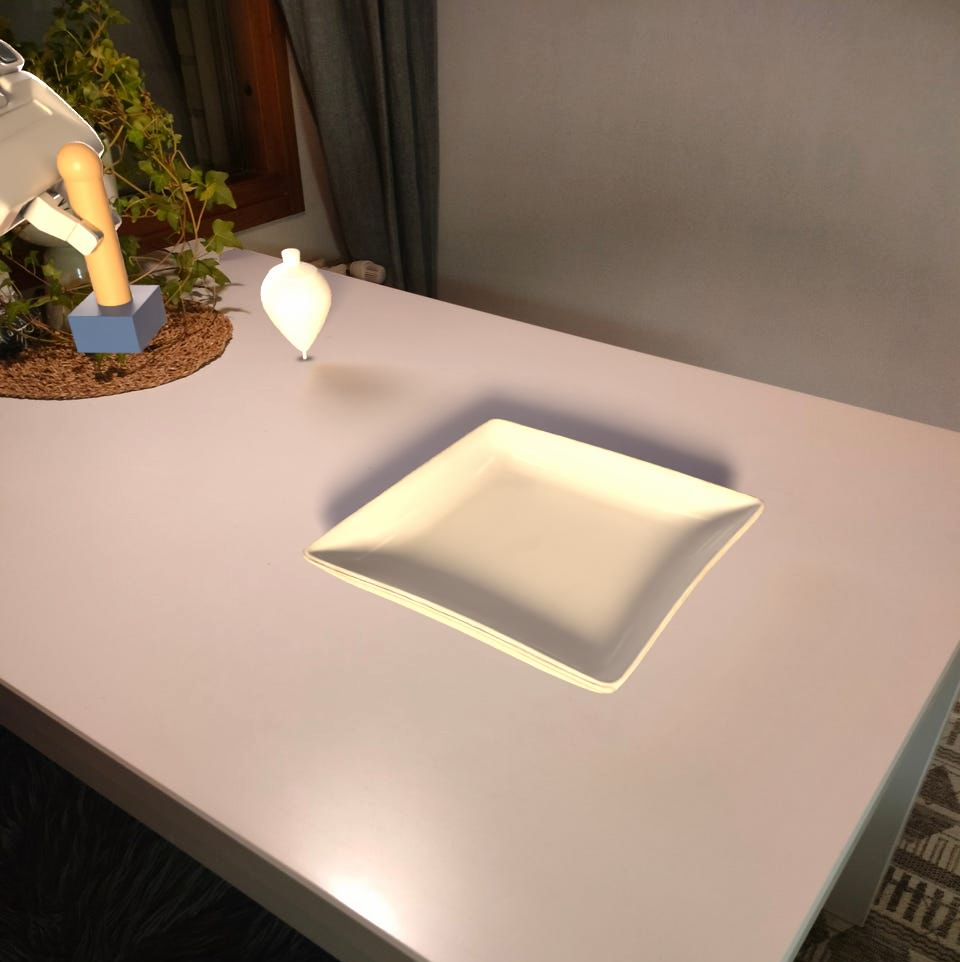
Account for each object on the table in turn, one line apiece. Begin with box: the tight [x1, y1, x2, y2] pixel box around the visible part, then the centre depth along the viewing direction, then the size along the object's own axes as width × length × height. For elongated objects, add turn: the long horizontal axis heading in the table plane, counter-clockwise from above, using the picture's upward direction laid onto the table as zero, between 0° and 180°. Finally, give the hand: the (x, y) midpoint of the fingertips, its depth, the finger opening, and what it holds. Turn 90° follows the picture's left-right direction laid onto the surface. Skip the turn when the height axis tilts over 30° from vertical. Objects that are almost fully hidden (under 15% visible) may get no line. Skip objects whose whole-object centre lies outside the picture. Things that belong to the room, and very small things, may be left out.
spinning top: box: [260, 247, 333, 360], centre depth 101 cm, size 8×8×12 cm
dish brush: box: [56, 142, 168, 354], centre depth 72 cm, size 5×7×15 cm
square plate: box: [301, 417, 766, 694], centre depth 73 cm, size 27×27×4 cm
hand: (106, 238), depth 72 cm, fingers closed on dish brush, 3 cm apart
